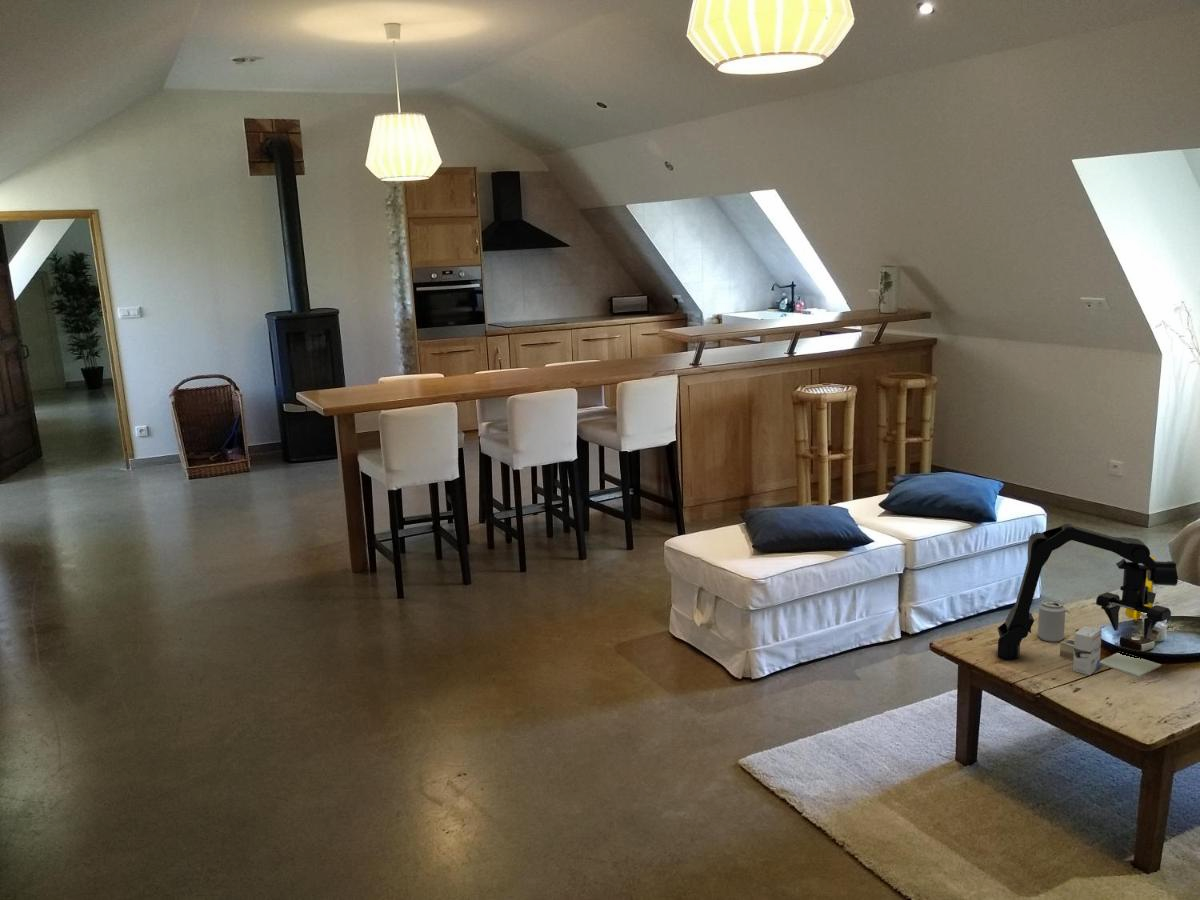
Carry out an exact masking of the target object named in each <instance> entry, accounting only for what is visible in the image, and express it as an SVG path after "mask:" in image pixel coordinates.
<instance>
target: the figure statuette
mask: <svg viewBox="0 0 1200 900" xmlns="http://www.w3.org/2000/svg"><path fill="white" fill-rule="evenodd" d="M1150 557H1151V558H1152V559H1153V560H1154V561H1156V558H1155V556H1152V555H1150ZM1147 571H1148V570H1147ZM1146 586H1147V587H1148V591H1149V592H1153V590H1154V589H1153V588H1154V585H1153V584H1152V582H1151V581H1148V578H1147V574H1146ZM1153 593H1154V592H1153ZM1144 606H1147V607H1150V608H1151V607H1153V606H1154V604H1152V603H1149V604H1147V605H1146V604H1145V605H1144ZM1125 615H1126V616H1127V617H1128V618H1130V619H1132V620H1133V621H1136V622H1137V621H1138V619H1140V616H1141V612H1139V611H1136V610H1132V609H1128V608H1125Z"/></svg>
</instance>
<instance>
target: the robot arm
mask: <svg viewBox="0 0 1200 900" xmlns="http://www.w3.org/2000/svg"><path fill="white" fill-rule="evenodd" d="M1070 541H1074V542H1077V543H1080V544H1084V545H1087V546H1091V547H1095V548H1098V549H1102V550H1105V551H1108V552H1112V553H1114V554H1116V555H1118V556H1120V557H1122V559H1121V560H1120V561H1118V562H1116V564H1115V565H1116V567H1117V568H1118V569H1119V570H1123V577H1122V579H1123V580H1122V585H1121V586H1120V589H1119V590H1120V591H1121V592H1122V594H1121V596H1120V595H1118V594H1116V593H1111V592H1107V591H1106V592H1104V593H1101V594H1100V595H1097V597H1096V601H1095V603H1096V605H1097V606H1100V609H1102V610H1103V611H1104V612H1105V614H1106V616H1107V618H1108V619H1109V622H1110V623H1111V626H1112V628H1113V630H1114V631H1116V632H1117V631H1118V629H1119V621H1120V620H1119V619H1120V618H1119V616H1120V613H1119V612H1120V609H1121V608H1124V609H1126V608H1128V609H1132V610H1136V611H1139V612H1143V613H1147V614H1146V616H1147V617H1148V618H1145V619H1144V620H1143V638H1144V640H1148V639H1149V637H1150V636H1151V635H1150V634H1151V633H1152V631H1153V629H1154V627H1155V626H1156V624H1157V623H1159V622H1164V621H1166V620H1168V619H1171V616H1172V611H1171V609H1170V608H1169V607H1166V606H1162V605H1158V604H1155V599H1156V597H1157V592H1156V593H1155V592H1149V591H1148V587H1147V586H1146V574H1147V578H1148V581H1151V582H1152V584H1153V586H1155V585H1157V586H1169V587H1171V586H1175V587H1176V586H1177V585H1178V581H1179V576H1178V570H1177V563H1176V562H1175V561H1173V560H1171V561H1156V560H1155V561H1154V560H1153V559H1152V558H1151V557H1150V556H1151V551H1150V550H1151V549H1149V548H1148V546H1147V545H1146V544H1145V543H1144V542H1143V541H1142V540H1141V539H1139V538H1134V537H1125V536H1123V537H1120V536H1119V537H1115V536H1112V535H1108V534H1105V533H1101V532H1097V531H1094V530H1089V529H1087V528H1083V527H1079V526H1075V525H1073V524H1071V523H1065V524H1062V525H1060V526H1058V527H1054V528H1050V529H1047V530H1044V531H1042V532H1034V533H1032V534H1031V535H1030V536H1029V538H1028V541H1027V560H1026V562H1027V563H1026V565H1025V570H1024V573H1023V576H1022V580H1021V584H1020V587H1019V591H1018V594H1017V597H1016V601H1015V604H1014V606H1013V607H1012V608H1011V609H1010V611H1009V613H1008V615H1007V617H1006V619H1005V622H1003V623H1002V624H1000V626H998V627H997V628H996V629H997V632H998V635H999V637H998V640H997V658H998V659H1001V660H1005V661H1016V660H1019V658H1020V654H1021V653H1020V651H1021V643H1022V640H1023V639H1025V638H1027V637H1028V635H1029V634H1032V626H1033V624H1034V622H1035V619H1034V617H1033V614H1032V613H1030V611H1031V608H1032V607H1031V606H1032V605H1033V604H1032V603H1033V601H1034V600H1033V599H1034V597H1035V592H1036V589H1037V586H1038V584H1039V583H1038V582H1039V578H1040V575H1041V572H1042V569H1043V567H1044V565H1045V564H1046V563H1047V562H1048V560H1049V558H1050V556H1051V554H1052V553H1053V551H1055V550H1057V549H1059V548H1061V547H1062V546H1064V545H1065V544H1067V543H1068V542H1070ZM1126 560H1127V561H1126ZM1147 570H1148V571H1147ZM1120 598H1121V599H1120ZM1149 603H1152V604H1153V607H1151V608H1150V607H1147V606H1144V605H1145V604H1146V605H1147V604H1149ZM1154 604H1155V605H1154Z"/></svg>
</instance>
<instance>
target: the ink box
mask: <svg viewBox="0 0 1200 900" xmlns="http://www.w3.org/2000/svg"><path fill="white" fill-rule="evenodd" d="M1102 630H1103V629H1102V628H1099V627H1094V626H1089V625H1084V626H1082V627H1081V628H1080V629H1079V630H1077V631H1076V632H1074V639H1073V640H1074V657H1073V660H1072V671H1073V672H1075V673H1076V672H1077V673H1079V674H1083V675H1086V676H1091V675H1092V674H1093V673H1094V672H1095V671H1097V669H1098V668H1100V666H1101V664H1100V661H1101V648H1102V647H1101V645H1102Z"/></svg>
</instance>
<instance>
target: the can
mask: <svg viewBox="0 0 1200 900" xmlns="http://www.w3.org/2000/svg"><path fill="white" fill-rule="evenodd" d="M1065 623H1066V607H1065V606H1064V603H1063V602H1062V601H1059V600H1055V599H1044V600H1041V603H1040V604H1039V606H1038V624H1037V636H1038V637H1039V638H1040V639H1041V640H1043V641H1045V642H1049V643H1057V642H1062V641H1063V639H1064V638H1065V625H1066V624H1065Z"/></svg>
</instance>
